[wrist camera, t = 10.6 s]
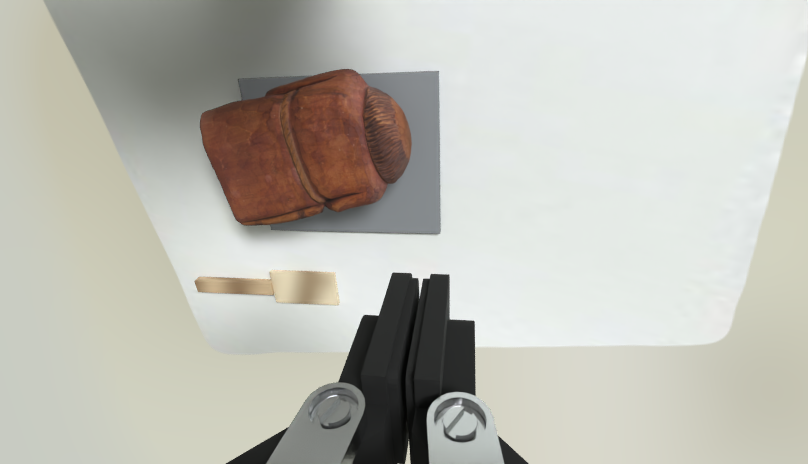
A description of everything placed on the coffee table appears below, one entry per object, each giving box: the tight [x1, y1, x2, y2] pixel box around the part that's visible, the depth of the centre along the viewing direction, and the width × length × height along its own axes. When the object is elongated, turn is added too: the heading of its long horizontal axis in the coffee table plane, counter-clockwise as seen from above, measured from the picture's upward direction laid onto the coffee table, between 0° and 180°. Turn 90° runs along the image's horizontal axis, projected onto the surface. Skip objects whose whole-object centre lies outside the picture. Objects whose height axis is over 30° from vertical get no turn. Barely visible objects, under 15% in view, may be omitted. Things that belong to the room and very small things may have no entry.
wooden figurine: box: [200, 69, 412, 225], centre depth 37 cm, size 12×6×18 cm
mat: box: [238, 71, 441, 234], centre depth 41 cm, size 16×19×1 cm
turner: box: [195, 270, 340, 305], centre depth 50 cm, size 18×4×1 cm, turn 93°
